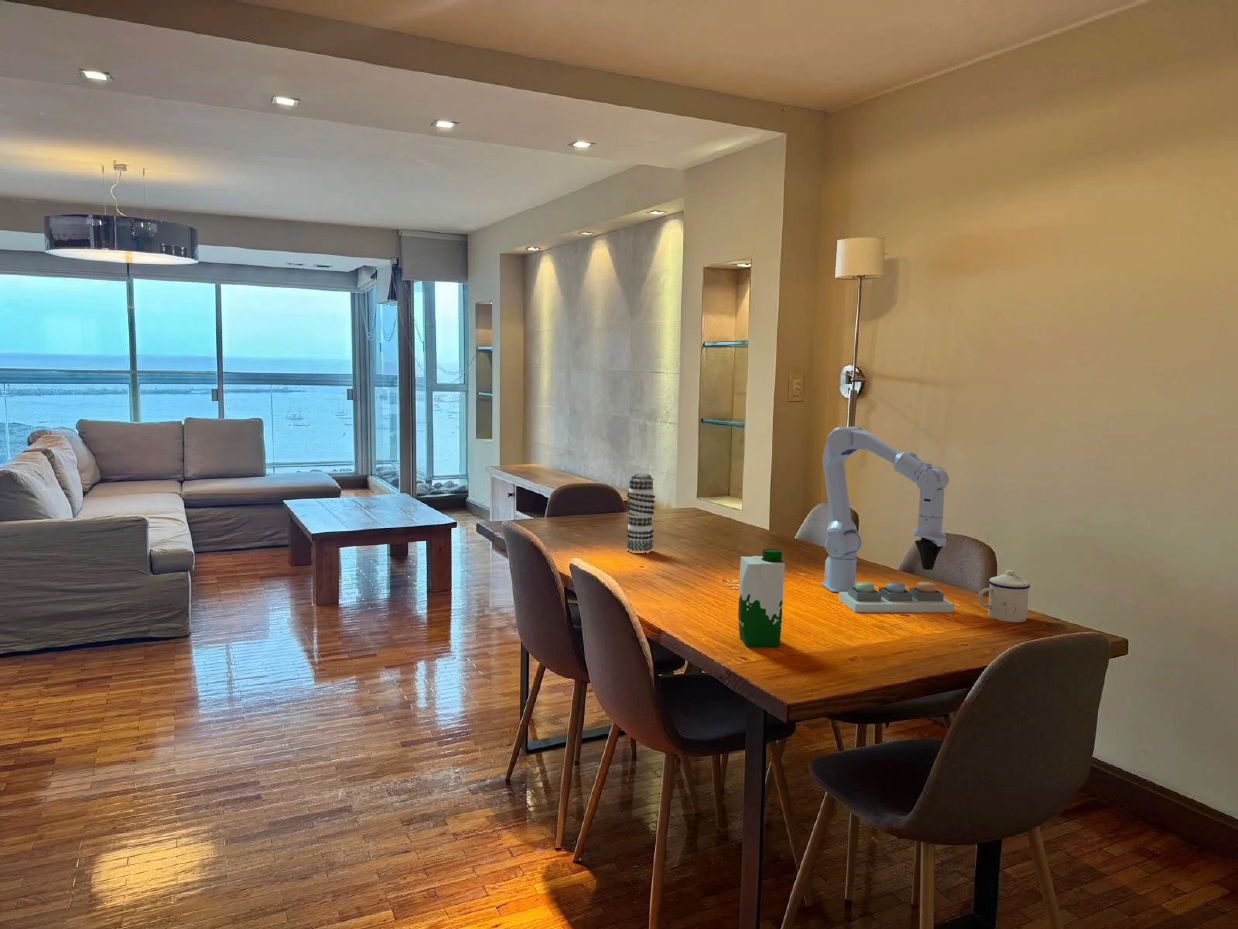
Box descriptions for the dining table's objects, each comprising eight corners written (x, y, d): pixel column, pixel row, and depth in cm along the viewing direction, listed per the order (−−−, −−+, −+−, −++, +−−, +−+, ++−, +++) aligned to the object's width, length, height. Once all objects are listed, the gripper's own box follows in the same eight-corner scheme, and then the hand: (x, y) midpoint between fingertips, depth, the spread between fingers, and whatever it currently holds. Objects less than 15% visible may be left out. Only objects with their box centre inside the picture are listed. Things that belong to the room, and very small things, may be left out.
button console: (838, 599, 220) (839, 584, 220) (932, 599, 222) (932, 584, 222) (854, 612, 209) (855, 596, 208) (953, 612, 211) (954, 596, 210)
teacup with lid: (1015, 612, 211) (1018, 566, 210) (1035, 623, 202) (1038, 575, 201) (968, 612, 210) (971, 566, 209) (986, 623, 201) (989, 574, 200)
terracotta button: (914, 590, 218) (914, 581, 218) (930, 590, 218) (931, 581, 218) (921, 594, 213) (921, 586, 213) (938, 594, 214) (938, 586, 214)
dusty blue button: (883, 590, 217) (884, 581, 217) (900, 590, 217) (900, 581, 217) (890, 594, 213) (890, 586, 213) (907, 594, 213) (908, 586, 213)
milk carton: (785, 648, 179) (788, 554, 177) (742, 648, 179) (745, 554, 177) (774, 635, 188) (778, 546, 186) (733, 635, 187) (737, 546, 185)
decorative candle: (621, 552, 273) (623, 475, 271) (629, 547, 282) (631, 472, 279) (649, 555, 271) (651, 476, 268) (656, 549, 279) (658, 473, 277)
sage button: (852, 590, 216) (853, 581, 216) (869, 590, 217) (870, 581, 217) (859, 594, 212) (859, 586, 212) (876, 594, 212) (876, 586, 212)
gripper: (959, 520, 207) (956, 575, 208) (933, 511, 221) (930, 563, 223) (931, 520, 206) (928, 575, 208) (906, 511, 221) (904, 562, 222)
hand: (927, 569), depth 215 cm, fingers closed
